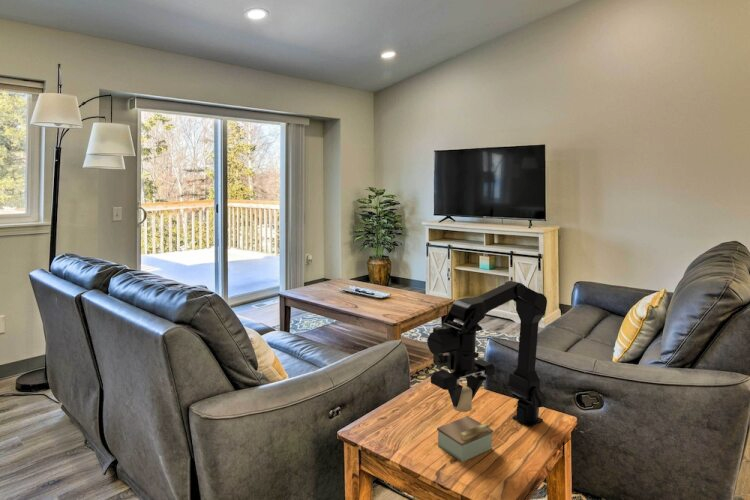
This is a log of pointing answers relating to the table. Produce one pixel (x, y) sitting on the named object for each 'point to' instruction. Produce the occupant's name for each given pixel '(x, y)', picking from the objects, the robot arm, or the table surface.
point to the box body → (465, 446)
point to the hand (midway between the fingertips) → (462, 403)
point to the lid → (465, 430)
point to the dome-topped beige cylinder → (465, 400)
